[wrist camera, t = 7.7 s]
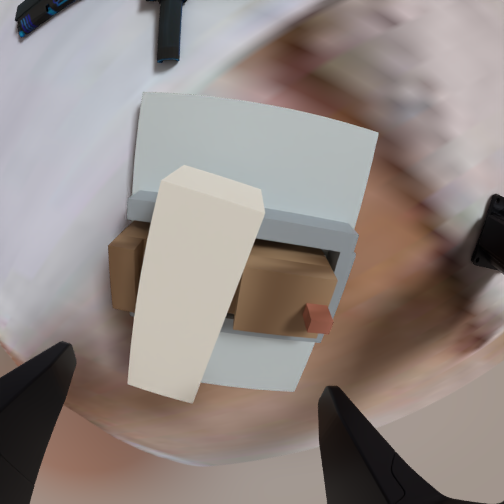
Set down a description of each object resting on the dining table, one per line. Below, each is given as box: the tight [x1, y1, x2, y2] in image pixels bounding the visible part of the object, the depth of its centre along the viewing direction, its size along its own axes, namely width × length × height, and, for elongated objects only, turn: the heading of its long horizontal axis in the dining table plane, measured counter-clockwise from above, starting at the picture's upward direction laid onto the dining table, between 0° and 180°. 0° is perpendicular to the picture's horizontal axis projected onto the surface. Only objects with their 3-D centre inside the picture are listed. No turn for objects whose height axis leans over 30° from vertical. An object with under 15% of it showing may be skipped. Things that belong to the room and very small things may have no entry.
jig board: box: [127, 92, 378, 392], centre depth 19 cm, size 14×22×3 cm, turn 170°
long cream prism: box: [128, 165, 265, 404], centre depth 15 cm, size 4×12×4 cm, turn 161°
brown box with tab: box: [108, 220, 338, 339], centre depth 16 cm, size 12×4×6 cm, turn 80°
